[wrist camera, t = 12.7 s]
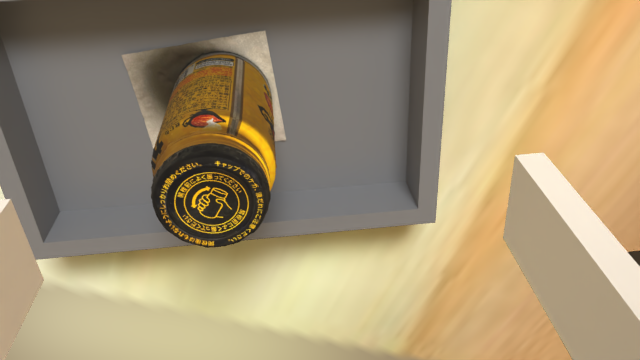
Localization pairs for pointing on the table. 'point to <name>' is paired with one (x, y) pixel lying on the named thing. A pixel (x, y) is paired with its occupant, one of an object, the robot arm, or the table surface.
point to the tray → (294, 98)
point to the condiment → (210, 134)
